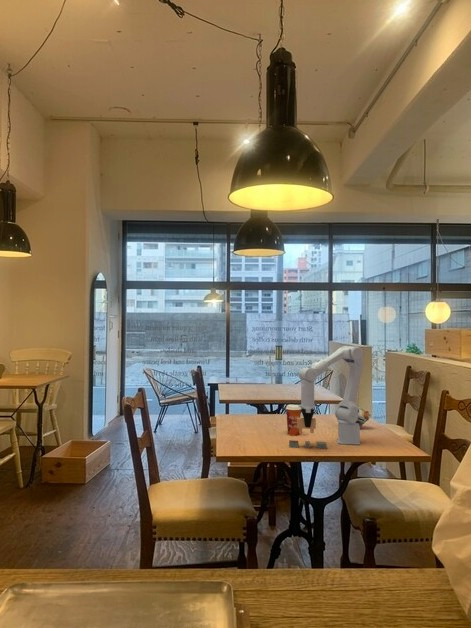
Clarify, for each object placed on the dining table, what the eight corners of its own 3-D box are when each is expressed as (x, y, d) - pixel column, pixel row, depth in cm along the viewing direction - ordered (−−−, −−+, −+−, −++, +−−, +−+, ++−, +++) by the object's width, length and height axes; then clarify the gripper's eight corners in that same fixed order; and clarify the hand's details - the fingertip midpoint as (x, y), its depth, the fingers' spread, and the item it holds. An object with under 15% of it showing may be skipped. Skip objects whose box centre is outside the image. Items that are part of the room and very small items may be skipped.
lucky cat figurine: (360, 424, 237) (370, 403, 232) (364, 437, 226) (376, 416, 221) (334, 416, 236) (344, 395, 231) (338, 429, 225) (348, 408, 220)
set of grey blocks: (325, 446, 191) (325, 441, 191) (326, 448, 187) (326, 444, 187) (289, 444, 193) (289, 440, 193) (289, 447, 189) (289, 442, 189)
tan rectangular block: (315, 432, 191) (315, 418, 191) (315, 433, 188) (315, 419, 188) (297, 431, 192) (297, 417, 192) (297, 432, 189) (297, 419, 189)
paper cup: (289, 436, 208) (289, 407, 208) (283, 433, 215) (283, 404, 215) (304, 435, 210) (304, 406, 210) (297, 432, 217) (297, 404, 218)
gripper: (298, 392, 198) (298, 422, 198) (298, 397, 184) (298, 429, 183) (313, 393, 197) (313, 423, 197) (315, 398, 183) (315, 430, 182)
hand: (307, 426), depth 190 cm, fingers closed on tan rectangular block, 3 cm apart
